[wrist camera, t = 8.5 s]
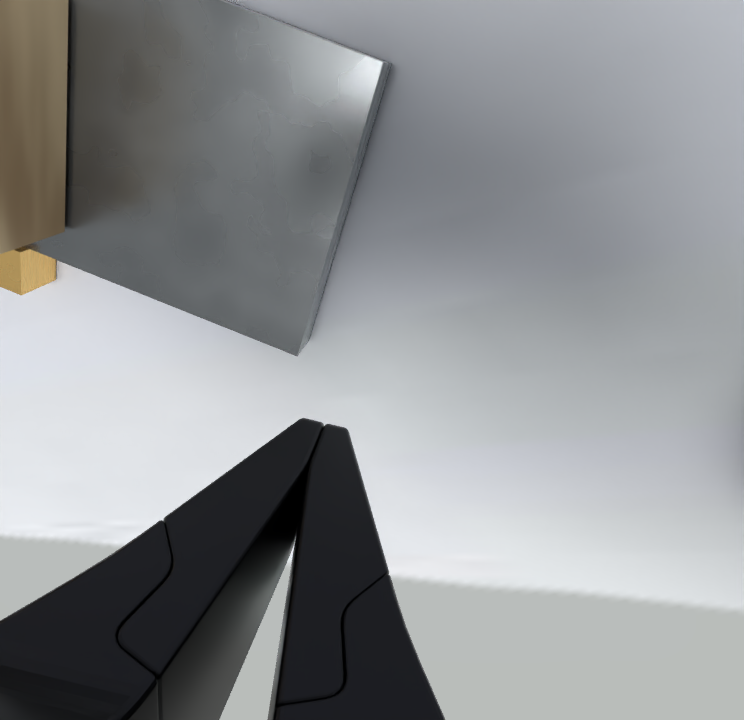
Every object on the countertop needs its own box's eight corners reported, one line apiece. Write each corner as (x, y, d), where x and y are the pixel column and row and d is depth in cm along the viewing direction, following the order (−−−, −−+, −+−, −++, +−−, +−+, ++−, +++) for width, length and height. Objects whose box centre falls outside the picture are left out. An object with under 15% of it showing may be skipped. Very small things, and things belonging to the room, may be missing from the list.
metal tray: (412, -7, 16) (393, -27, 13) (297, 377, 24) (268, 420, 21) (-226, -248, 17) (-384, -320, 14) (-141, 200, 24) (-232, 217, 21)
